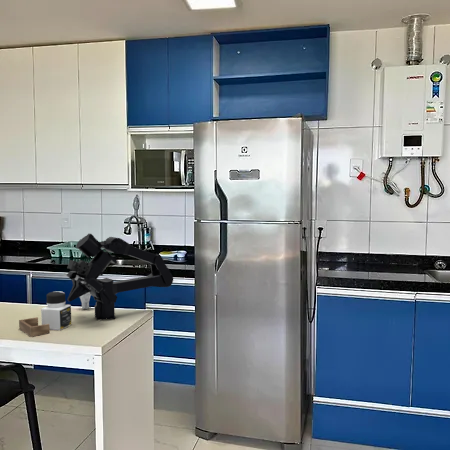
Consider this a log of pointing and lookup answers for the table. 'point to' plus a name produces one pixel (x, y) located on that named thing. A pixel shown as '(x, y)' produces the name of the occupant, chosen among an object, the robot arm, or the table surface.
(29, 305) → the table surface
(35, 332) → the corral
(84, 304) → the lightbulb
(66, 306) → the medicine bottle
